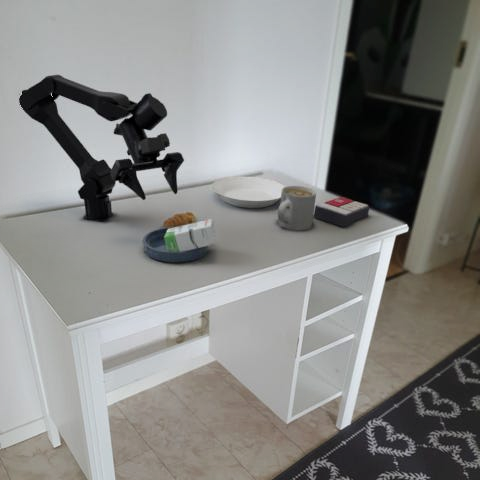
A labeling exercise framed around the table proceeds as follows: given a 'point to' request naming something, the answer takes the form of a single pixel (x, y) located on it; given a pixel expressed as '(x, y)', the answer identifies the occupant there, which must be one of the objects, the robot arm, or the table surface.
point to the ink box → (190, 236)
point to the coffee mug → (296, 207)
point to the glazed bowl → (158, 249)
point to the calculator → (341, 211)
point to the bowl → (248, 191)
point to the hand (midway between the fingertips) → (160, 196)
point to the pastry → (180, 220)
